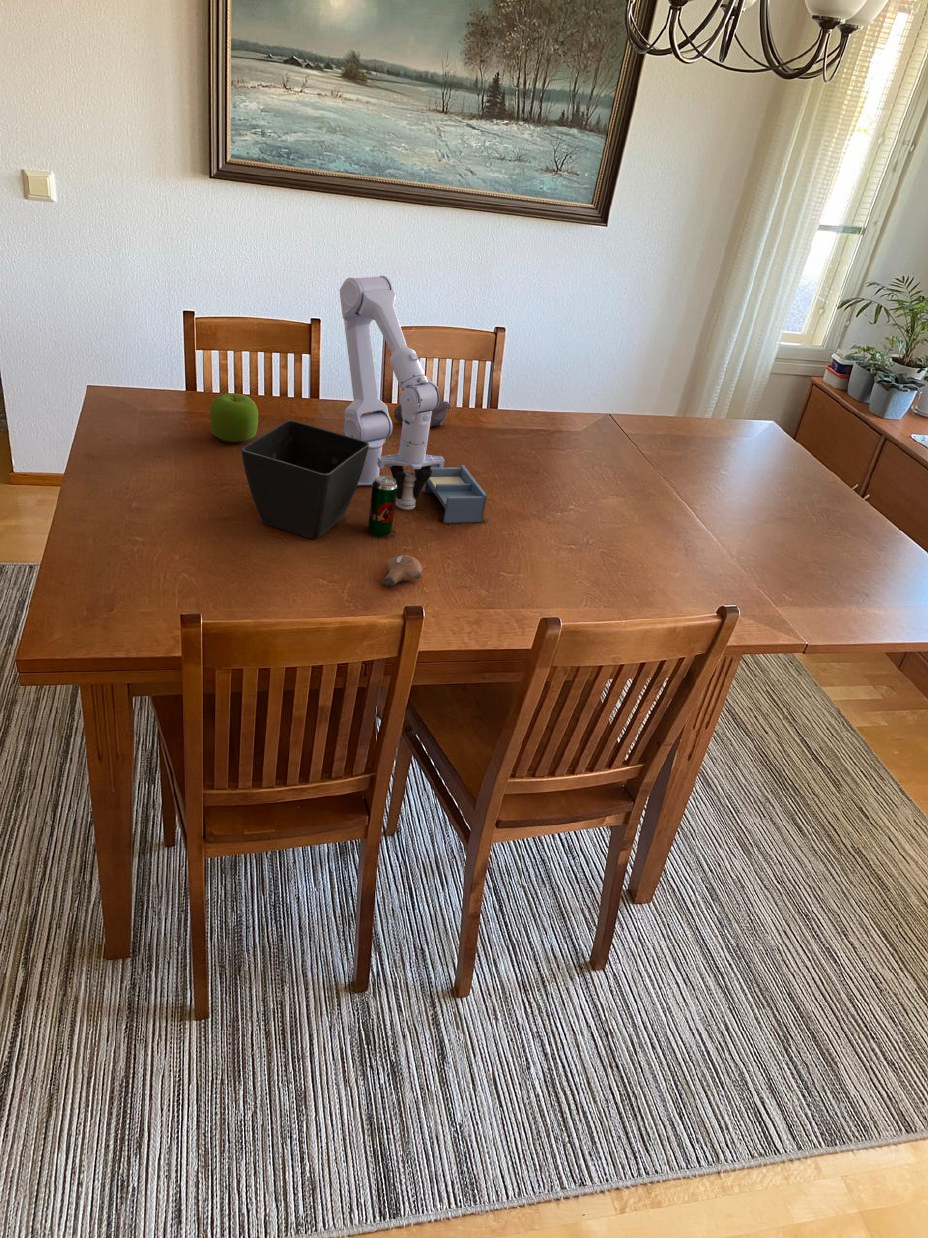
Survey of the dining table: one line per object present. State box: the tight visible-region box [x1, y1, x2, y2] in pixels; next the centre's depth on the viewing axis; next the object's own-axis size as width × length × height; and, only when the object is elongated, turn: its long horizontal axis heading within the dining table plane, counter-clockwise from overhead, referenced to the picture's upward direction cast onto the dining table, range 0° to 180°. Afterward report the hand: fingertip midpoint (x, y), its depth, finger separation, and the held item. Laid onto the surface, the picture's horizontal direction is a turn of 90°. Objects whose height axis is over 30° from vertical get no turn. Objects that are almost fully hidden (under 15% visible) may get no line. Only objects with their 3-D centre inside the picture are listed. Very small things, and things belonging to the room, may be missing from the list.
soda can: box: [367, 475, 397, 538], centre depth 182 cm, size 5×5×12 cm
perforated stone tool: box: [393, 400, 451, 428], centre depth 236 cm, size 15×5×7 cm, turn 101°
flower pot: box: [241, 420, 369, 540], centre depth 180 cm, size 19×19×17 cm
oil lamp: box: [381, 554, 423, 587], centre depth 171 cm, size 9×4×8 cm
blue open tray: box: [423, 464, 488, 524], centre depth 199 cm, size 9×15×6 cm, turn 20°
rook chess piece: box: [395, 470, 417, 511], centre depth 195 cm, size 4×4×8 cm
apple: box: [209, 392, 259, 444], centre depth 210 cm, size 11×11×11 cm
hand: (406, 496), depth 196 cm, fingers closed on rook chess piece, 3 cm apart
